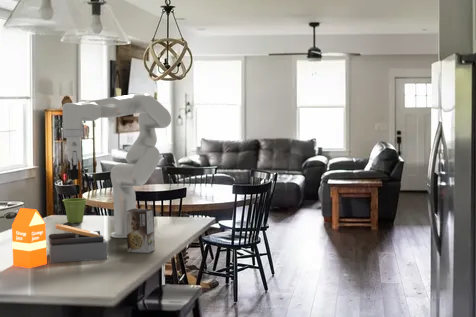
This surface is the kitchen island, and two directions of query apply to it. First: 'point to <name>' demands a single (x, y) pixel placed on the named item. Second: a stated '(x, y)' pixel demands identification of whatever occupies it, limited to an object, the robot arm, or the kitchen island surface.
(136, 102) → the robot arm
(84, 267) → the kitchen island surface
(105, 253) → the box
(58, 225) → the bar
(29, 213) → the orange juice
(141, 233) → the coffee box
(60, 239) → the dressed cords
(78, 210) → the plant pot
